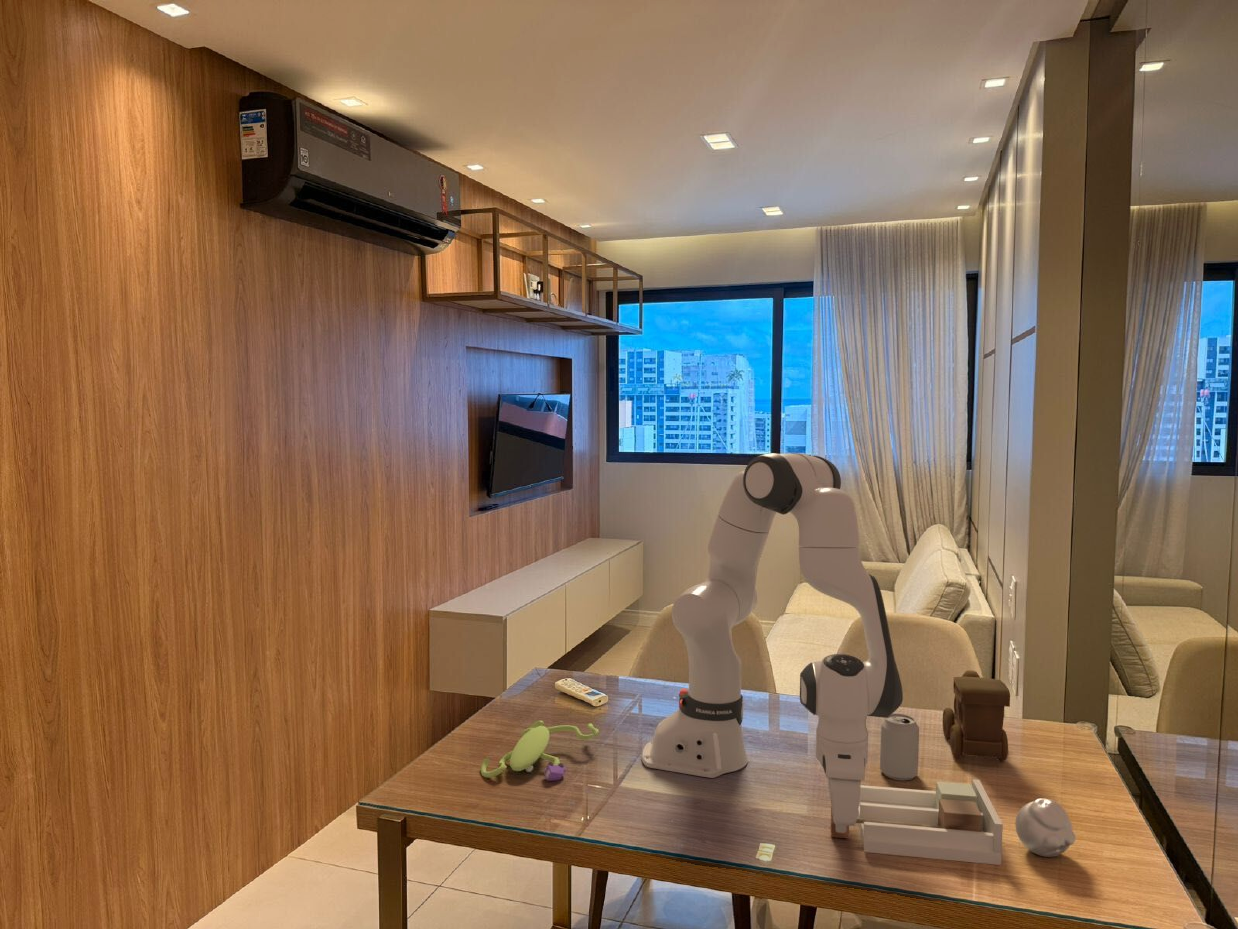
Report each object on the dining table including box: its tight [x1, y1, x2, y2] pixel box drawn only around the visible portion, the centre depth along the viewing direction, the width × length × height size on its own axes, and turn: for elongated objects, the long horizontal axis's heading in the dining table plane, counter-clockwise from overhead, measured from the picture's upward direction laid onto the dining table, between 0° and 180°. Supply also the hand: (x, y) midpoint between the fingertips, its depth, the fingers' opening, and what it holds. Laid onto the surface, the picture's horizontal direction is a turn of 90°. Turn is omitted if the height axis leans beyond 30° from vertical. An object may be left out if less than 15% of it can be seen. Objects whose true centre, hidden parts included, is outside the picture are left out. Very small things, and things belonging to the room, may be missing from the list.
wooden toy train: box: [942, 669, 1011, 763], centre depth 190 cm, size 20×11×17 cm, turn 168°
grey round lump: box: [1014, 797, 1076, 858], centre depth 146 cm, size 9×10×10 cm
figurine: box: [480, 720, 600, 782], centre depth 185 cm, size 18×27×6 cm
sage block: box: [935, 781, 977, 809], centre depth 156 cm, size 6×5×5 cm
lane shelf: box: [857, 778, 1004, 866], centre depth 153 cm, size 22×17×7 cm
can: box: [879, 712, 920, 781], centre depth 177 cm, size 8×8×12 cm
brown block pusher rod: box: [830, 799, 982, 839], centre depth 151 cm, size 24×5×7 cm, turn 80°
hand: (839, 825), depth 153 cm, fingers closed on brown block pusher rod, 2 cm apart
